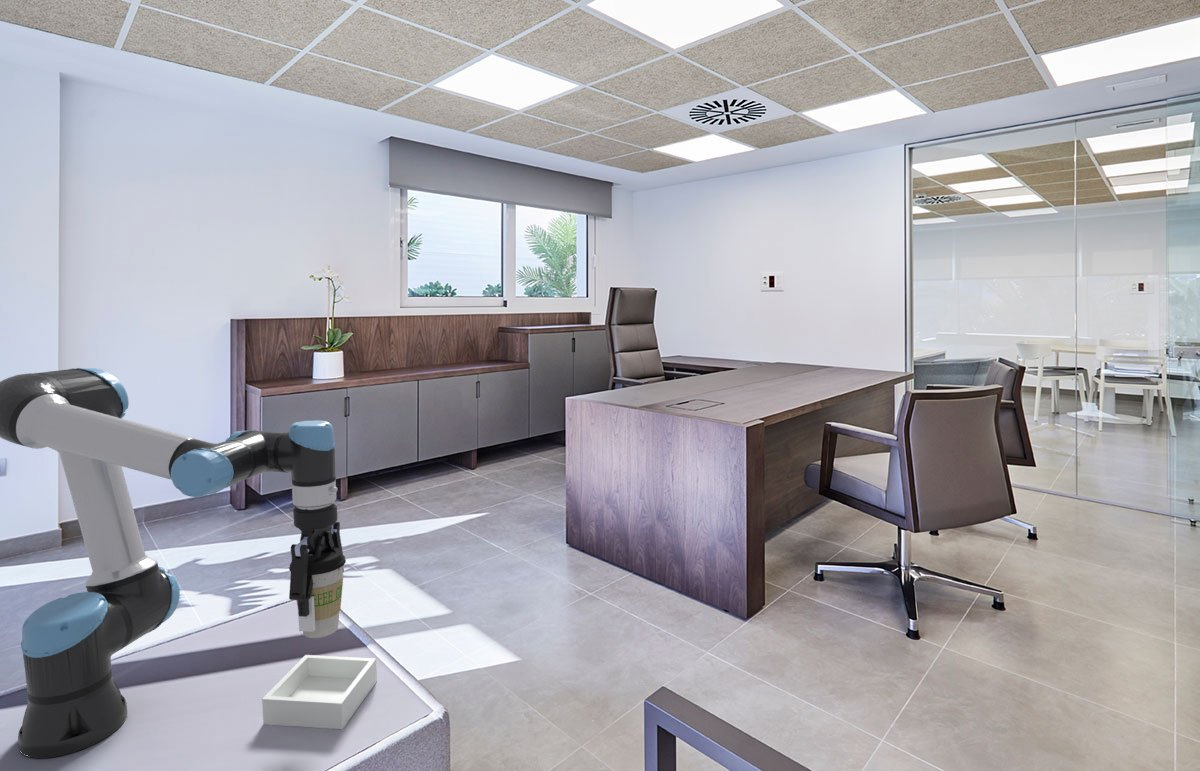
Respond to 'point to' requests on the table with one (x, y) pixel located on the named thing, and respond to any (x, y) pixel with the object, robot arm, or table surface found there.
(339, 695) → the bin
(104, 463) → the robot arm
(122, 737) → the table surface
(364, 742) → the table surface
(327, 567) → the coffee cup
